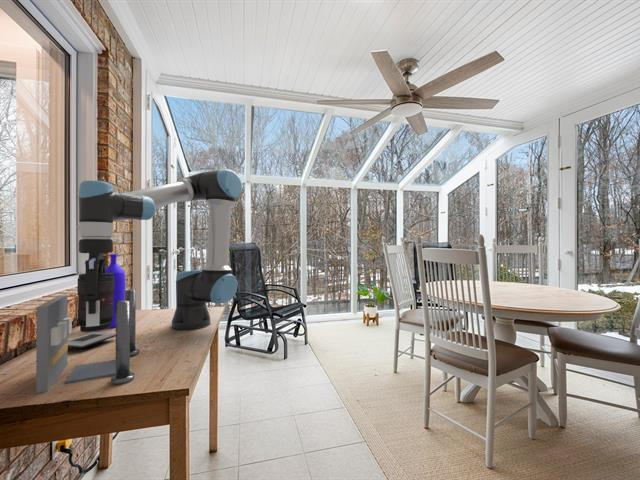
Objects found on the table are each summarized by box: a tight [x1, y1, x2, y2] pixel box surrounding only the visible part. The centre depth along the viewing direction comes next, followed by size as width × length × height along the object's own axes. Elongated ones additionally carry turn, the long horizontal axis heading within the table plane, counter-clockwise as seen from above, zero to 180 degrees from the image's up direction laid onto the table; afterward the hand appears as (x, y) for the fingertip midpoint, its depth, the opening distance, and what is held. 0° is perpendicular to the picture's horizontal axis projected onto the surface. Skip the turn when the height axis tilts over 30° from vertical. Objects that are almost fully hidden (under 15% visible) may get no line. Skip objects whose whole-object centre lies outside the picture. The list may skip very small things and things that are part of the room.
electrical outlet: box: [67, 331, 116, 350], centre depth 103 cm, size 13×10×2 cm
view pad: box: [64, 359, 116, 385], centre depth 82 cm, size 11×11×1 cm
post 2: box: [124, 289, 140, 358], centre depth 94 cm, size 5×5×20 cm
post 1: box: [110, 300, 135, 386], centre depth 77 cm, size 5×5×20 cm
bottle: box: [105, 253, 126, 329], centre depth 127 cm, size 8×8×30 cm
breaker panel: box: [35, 294, 73, 394], centre depth 78 cm, size 3×17×20 cm, turn 28°
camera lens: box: [76, 273, 114, 333], centre depth 82 cm, size 8×8×15 cm
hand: (96, 321), depth 82 cm, fingers closed on camera lens, 8 cm apart
